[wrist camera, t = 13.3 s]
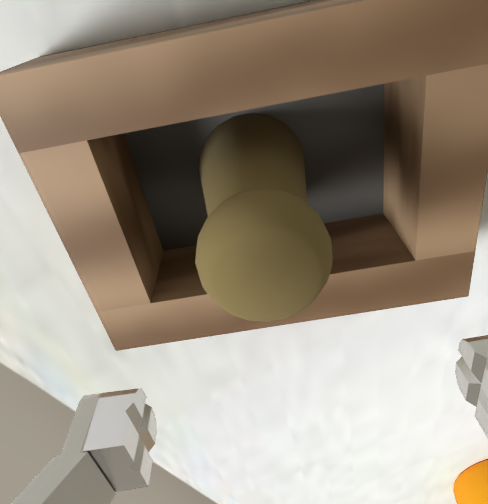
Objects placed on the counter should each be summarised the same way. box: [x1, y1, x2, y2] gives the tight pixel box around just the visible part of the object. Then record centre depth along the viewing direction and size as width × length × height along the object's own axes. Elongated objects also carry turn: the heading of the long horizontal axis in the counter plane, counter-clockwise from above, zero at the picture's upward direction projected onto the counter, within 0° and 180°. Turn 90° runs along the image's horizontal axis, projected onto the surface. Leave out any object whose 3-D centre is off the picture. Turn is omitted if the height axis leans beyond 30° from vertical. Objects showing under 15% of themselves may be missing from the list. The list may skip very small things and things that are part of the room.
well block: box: [0, 0, 488, 351], centre depth 22 cm, size 15×20×6 cm
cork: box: [195, 113, 333, 322], centre depth 19 cm, size 6×6×11 cm
